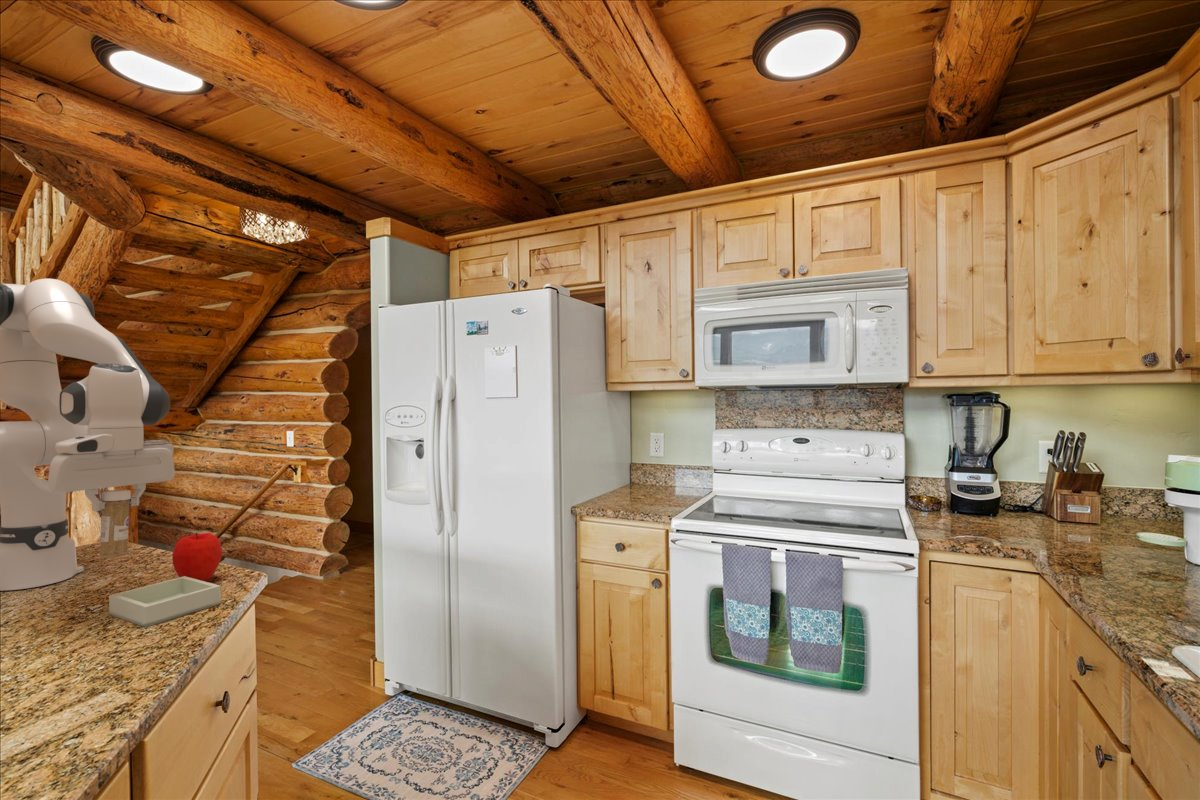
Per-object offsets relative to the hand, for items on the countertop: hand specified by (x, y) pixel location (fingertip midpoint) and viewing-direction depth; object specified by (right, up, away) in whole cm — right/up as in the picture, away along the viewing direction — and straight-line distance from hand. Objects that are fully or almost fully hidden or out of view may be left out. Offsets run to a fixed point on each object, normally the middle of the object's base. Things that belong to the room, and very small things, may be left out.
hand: (116, 508), depth 115 cm
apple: (+2, -22, +20) cm, 30 cm away
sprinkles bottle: (0, -10, -1) cm, 10 cm away
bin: (+8, -22, +3) cm, 24 cm away
